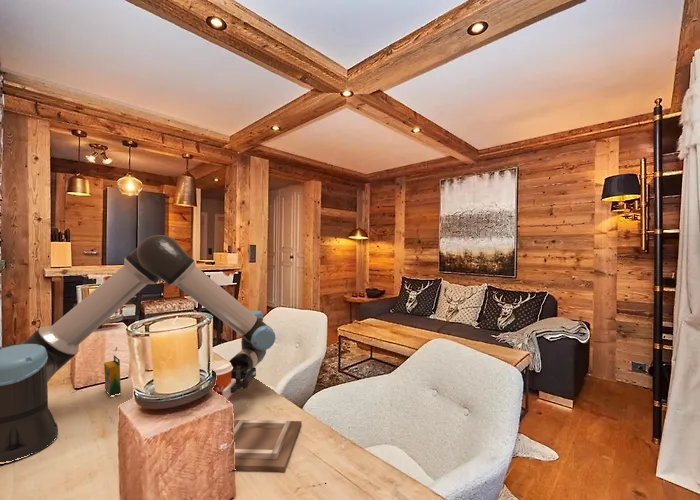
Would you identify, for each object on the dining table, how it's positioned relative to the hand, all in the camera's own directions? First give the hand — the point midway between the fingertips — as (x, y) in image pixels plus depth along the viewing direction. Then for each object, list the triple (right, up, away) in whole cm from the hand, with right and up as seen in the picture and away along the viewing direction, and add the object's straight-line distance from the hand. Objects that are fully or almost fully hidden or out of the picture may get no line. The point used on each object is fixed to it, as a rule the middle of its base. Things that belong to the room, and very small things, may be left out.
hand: (209, 395), depth 88 cm
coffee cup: (0, -9, +5) cm, 10 cm away
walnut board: (+15, -8, -8) cm, 19 cm away
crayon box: (-41, -9, +21) cm, 47 cm away
